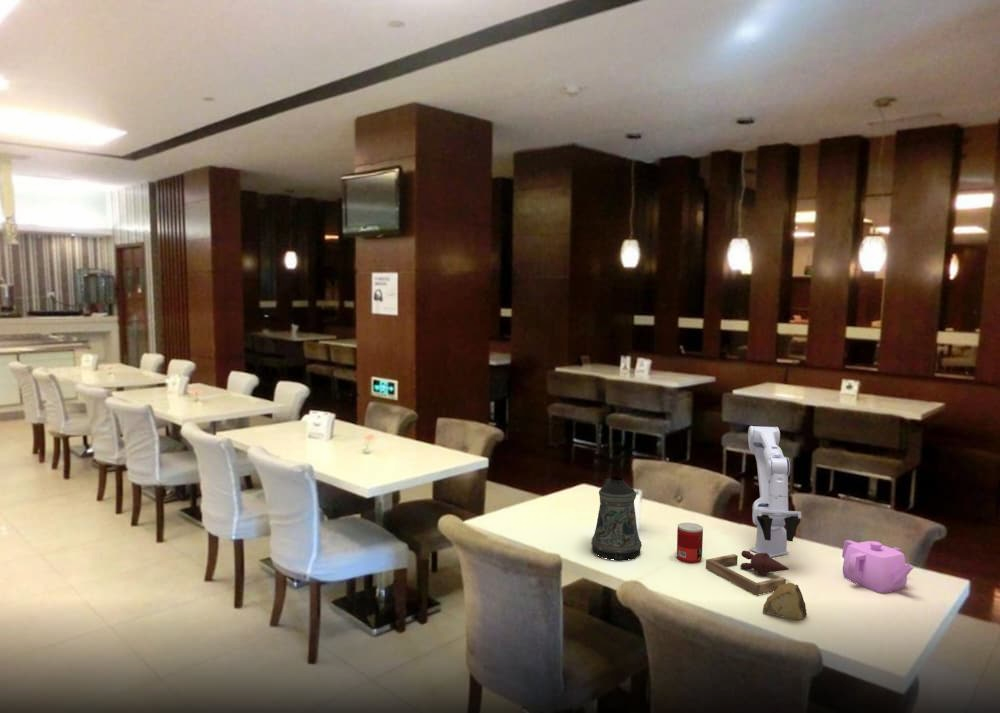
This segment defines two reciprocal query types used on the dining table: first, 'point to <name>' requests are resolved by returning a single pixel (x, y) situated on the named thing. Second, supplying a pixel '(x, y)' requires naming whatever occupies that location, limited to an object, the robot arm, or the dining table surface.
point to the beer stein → (616, 522)
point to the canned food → (689, 542)
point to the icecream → (762, 563)
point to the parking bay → (721, 570)
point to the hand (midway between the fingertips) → (778, 540)
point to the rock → (786, 602)
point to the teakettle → (875, 566)
